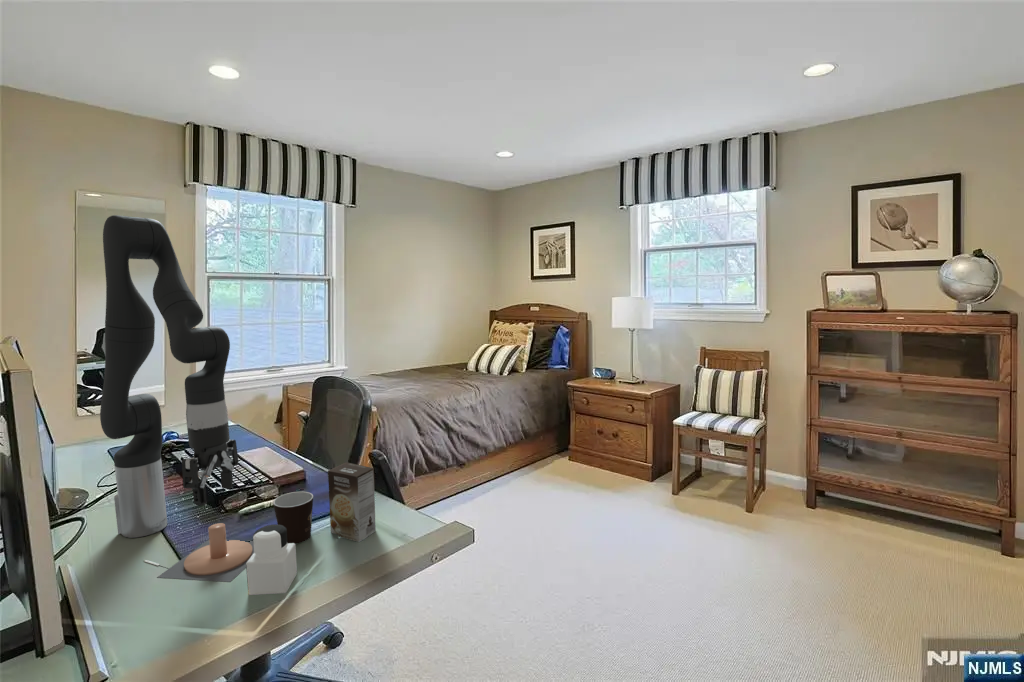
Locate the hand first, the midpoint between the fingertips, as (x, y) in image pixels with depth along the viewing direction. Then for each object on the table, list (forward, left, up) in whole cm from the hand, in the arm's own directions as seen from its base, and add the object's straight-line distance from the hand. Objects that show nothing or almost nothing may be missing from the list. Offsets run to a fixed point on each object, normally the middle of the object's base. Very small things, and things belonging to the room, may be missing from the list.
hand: (214, 496), depth 113 cm
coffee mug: (+12, +12, -15) cm, 23 cm away
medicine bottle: (+17, -8, -15) cm, 24 cm away
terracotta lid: (0, 0, -14) cm, 14 cm away
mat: (0, 0, -15) cm, 15 cm away
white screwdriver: (-8, -5, -15) cm, 18 cm away
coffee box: (+24, +15, -15) cm, 32 cm away
